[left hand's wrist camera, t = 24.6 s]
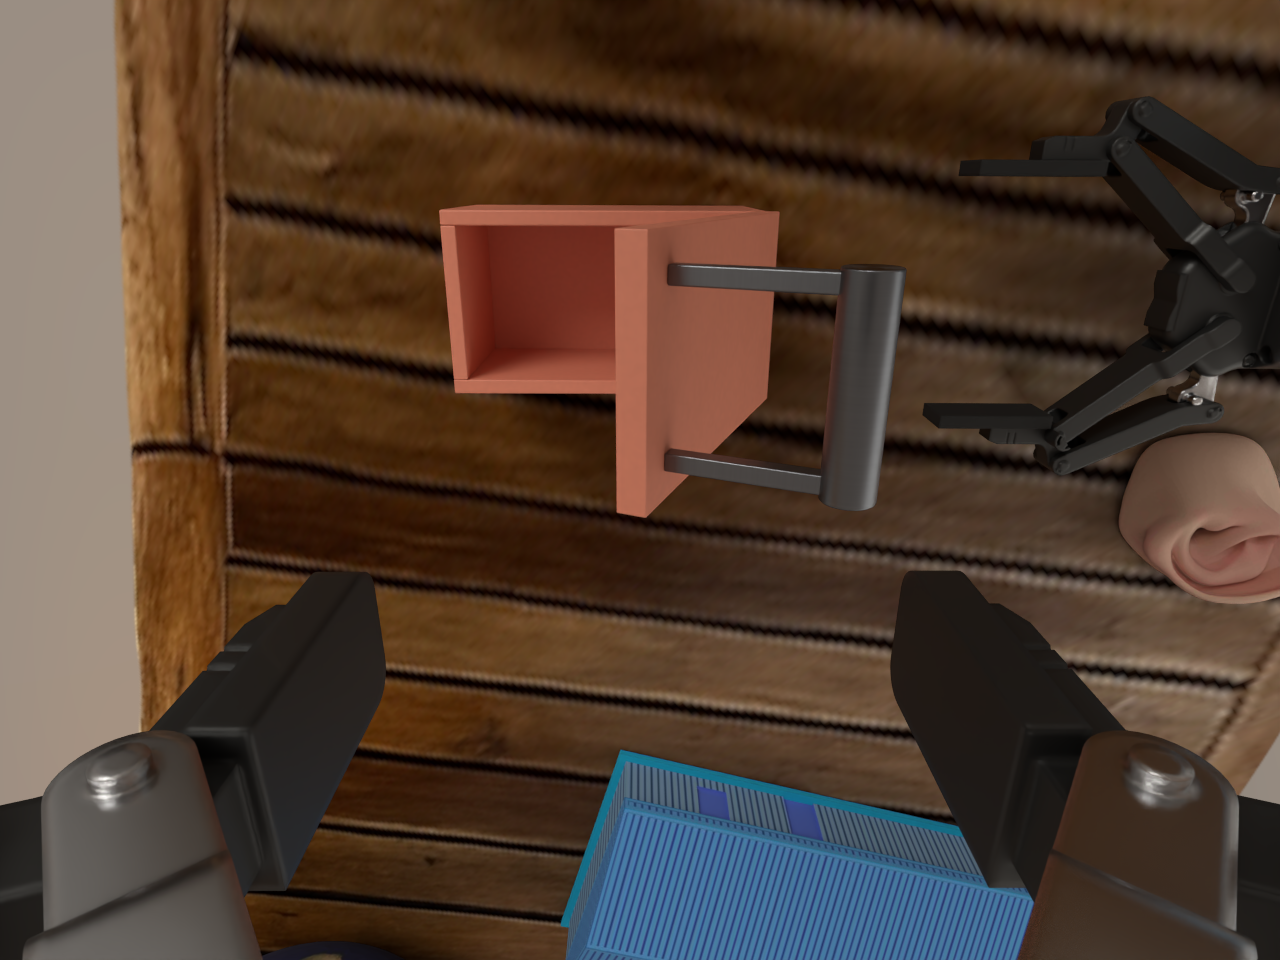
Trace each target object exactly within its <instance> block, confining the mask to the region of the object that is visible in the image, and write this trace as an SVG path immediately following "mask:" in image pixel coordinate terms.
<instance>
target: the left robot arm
mask: <svg viewBox="0 0 1280 960" xmlns="http://www.w3.org/2000/svg"><path fill="white" fill-rule="evenodd" d="M224 648H225V649H224V652H219V654H218V655H217V656H216V657H215V658H214V659H213V660H212V661H211V662H210V664H209V665H208V666H207V667H208V668H207V671H202V673H201V674H200V675H199V676H198V677H197V678H196V679H195V680H194V681H193V683H192V684H191V685H190V686H189V687H188V688H187V689H186V690H185V692H184V693H183V694H182V695H181V696H180V697H179V698H178V699H177V700H176V702H175V703H174V704H173V705H172V706H171V707H170V708H169V709H168V710H167V712H166V713H165V714H164V715H163V716H162V717H161V718H160V719H159V721H158V722H157V723H156V724H155V725H154V726H153V727H152V728H151V729H150V731H147V732H140V733H136V734H132V735H128V736H124V737H121V738H118V739H115V740H113V741H110V742H108V743H105V744H103V745H101V746H99V747H97V748H95V749H92V750H91V751H89V752H87V753H85V754H84V755H82V756H80V757H79V758H77V759H76V760H75V761H73V762H72V763H70V764H69V765H68V766H67V767H65V768H64V769H63V770H62V771H61V772H60V773H59V774H58V775H57V776H56V777H55V778H54V779H53V780H52V781H51V783H50V784H49V786H48V787H47V788H46V790H45V792H44V795H43V796H41V797H37V798H33V799H28V800H23V801H19V802H14V803H10V804H5V805H1V806H0V960H263V959H262V956H261V952H260V949H259V946H258V942H257V939H256V936H255V933H254V929H253V926H252V923H251V919H250V916H249V913H248V909H247V906H246V903H245V900H244V897H245V895H246V893H247V892H248V891H286V889H287V887H288V885H289V883H290V881H291V879H292V877H293V875H294V873H295V871H296V869H297V867H298V865H299V863H300V861H301V859H302V857H303V855H304V853H305V851H306V849H307V847H308V845H309V843H310V841H311V839H312V837H313V835H314V833H315V831H316V829H317V827H318V825H319V823H320V821H321V819H322V817H323V815H324V813H325V811H326V809H327V807H328V805H329V803H330V801H331V799H332V797H333V795H334V793H335V791H336V789H337V787H338V785H339V783H340V781H341V779H342V777H343V775H344V773H345V771H346V769H347V767H348V765H349V763H350V761H351V759H352V757H353V755H354V753H355V751H356V749H357V747H358V745H359V743H360V741H361V739H362V737H363V735H364V733H365V731H366V729H367V727H368V725H369V723H370V721H371V719H372V717H373V715H374V713H375V711H376V709H377V707H378V705H379V703H380V701H381V698H382V694H383V690H384V685H385V675H386V662H385V654H384V648H383V641H382V634H381V627H380V621H379V614H378V607H377V600H376V594H375V588H374V583H373V580H372V578H371V576H370V575H369V574H368V573H367V572H315V573H313V574H312V575H311V576H310V577H309V578H308V579H307V581H306V582H305V583H304V584H303V585H302V587H301V588H300V589H299V590H298V591H297V593H296V594H295V595H294V596H293V597H292V599H291V600H290V601H289V602H288V603H287V604H286V605H275V606H274V607H272V608H270V609H269V610H267V611H266V612H264V613H262V614H261V615H259V616H257V617H256V618H254V619H253V620H251V621H249V622H248V623H246V624H245V625H244V626H243V627H242V628H241V629H240V630H239V631H238V632H237V633H236V635H235V636H234V637H233V638H232V639H231V640H230V641H229V642H228V644H227V645H226V646H225V647H224ZM890 670H891V682H892V688H893V692H894V696H895V699H896V701H897V704H898V706H899V708H900V710H901V712H902V714H903V716H904V718H905V720H906V722H907V724H908V726H909V728H910V730H911V732H912V734H913V736H914V738H915V740H916V742H917V744H918V746H919V748H920V750H921V752H922V754H923V756H924V758H925V760H926V762H927V764H928V766H929V768H930V770H931V772H932V774H933V776H934V778H935V780H936V782H937V784H938V786H939V788H940V790H941V792H942V794H943V797H944V799H945V801H946V803H947V805H948V807H949V809H950V811H951V813H952V815H953V817H954V819H955V821H956V823H957V825H958V827H959V829H960V831H961V833H962V835H963V837H964V839H965V841H966V843H967V845H968V847H969V849H970V851H971V853H972V855H973V857H974V859H975V861H976V863H977V865H978V867H979V869H980V871H981V873H982V875H983V877H984V879H985V881H986V883H987V885H988V887H989V888H1026V889H1027V891H1028V893H1029V895H1030V896H1031V898H1032V900H1033V902H1034V906H1033V909H1032V913H1031V916H1030V919H1029V923H1028V926H1027V929H1026V933H1025V936H1024V939H1023V942H1022V946H1021V949H1020V952H1019V956H1018V959H1017V960H1280V804H1276V803H1271V802H1267V801H1262V800H1257V799H1253V798H1248V797H1244V796H1239V795H1236V792H1235V790H1234V788H1233V787H1232V786H1231V784H1230V783H1229V781H1228V780H1227V779H1226V778H1225V777H1224V776H1223V775H1222V774H1221V773H1220V772H1219V771H1218V770H1217V769H1216V768H1215V767H1213V766H1212V765H1211V764H1210V763H1208V762H1207V761H1205V760H1204V759H1203V758H1201V757H1200V756H1198V755H1196V754H1195V753H1193V752H1191V751H1189V750H1188V749H1185V748H1183V747H1181V746H1179V745H1177V744H1175V743H1172V742H1170V741H1167V740H1165V739H1162V738H1159V737H1156V736H1152V735H1149V734H1144V733H1140V732H1133V731H1126V730H1125V729H1124V728H1123V727H1122V725H1121V724H1120V723H1119V722H1118V721H1117V720H1116V719H1115V718H1114V716H1113V715H1112V714H1111V713H1110V712H1109V711H1108V710H1107V709H1106V707H1105V706H1104V705H1103V704H1102V703H1101V702H1100V701H1099V700H1098V698H1097V697H1096V696H1095V695H1094V694H1093V693H1092V692H1091V690H1090V689H1089V688H1088V687H1087V686H1086V685H1085V684H1084V683H1083V681H1082V680H1081V679H1080V678H1079V677H1078V676H1077V675H1076V674H1075V672H1074V671H1073V670H1072V669H1068V668H1067V663H1066V662H1065V661H1064V660H1063V659H1062V658H1061V657H1060V656H1059V654H1058V653H1057V652H1056V651H1055V650H1051V648H1050V644H1049V643H1048V642H1047V641H1046V640H1045V639H1044V638H1043V636H1042V635H1041V634H1040V633H1039V632H1038V631H1037V630H1036V629H1035V627H1034V626H1033V625H1032V624H1031V623H1030V622H1028V621H1027V620H1025V619H1023V618H1022V617H1020V616H1019V615H1017V614H1015V613H1014V612H1012V611H1010V610H1009V609H1007V608H1006V607H1004V606H1002V605H1001V604H989V603H988V602H987V600H986V599H985V598H984V597H983V596H982V594H981V593H980V592H979V591H978V590H977V588H976V587H975V586H974V585H973V584H972V582H971V581H970V580H969V579H968V578H967V576H966V575H965V574H964V573H963V572H961V571H908V572H907V573H906V575H905V576H904V579H903V582H902V586H901V593H900V599H899V606H898V613H897V620H896V627H895V634H894V640H893V647H892V654H891V665H890Z"/></svg>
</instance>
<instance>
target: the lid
mask: <svg viewBox="0 0 1280 960" xmlns="http://www.w3.org/2000/svg"><path fill="white" fill-rule="evenodd" d="M778 227H779V212H773V211H756V212H748V213H739V214H731V215H722V216H714V217H705V218H697V219H689V220H680V221H672V222H663V223H655V224H646V225H638V226H630V227H621V228H615V230H614V233H615V350H616V466H617V513H622V514H627V515H633V516H639V517H644V518H645V517H647V516H648V515H649V514H650V513H651V512H652V511H653V510H654V509H655V508H656V507H657V506H658V505H659V504H660V503H661V502H662V501H663V500H664V499H665V498H666V497H667V496H668V495H669V494H670V493H671V492H672V491H673V490H674V489H675V488H676V487H677V486H678V485H679V484H680V483H681V482H682V481H683V480H684V479H685V478H686V477H687V476H689V475H692V476H699V477H705V478H712V479H719V480H725V481H732V482H738V483H745V484H751V485H758V486H764V487H771V488H777V489H784V490H790V491H797V492H803V493H810V494H816V495H818V497H819V500H820V501H821V502H822V503H824V504H825V505H827V506H830V507H833V508H836V509H841V510H849V511H860V510H866V509H870V508H872V507H874V506H875V504H876V501H877V493H878V486H879V478H880V470H881V462H882V455H883V447H884V439H885V432H886V424H887V416H888V409H889V401H890V393H891V386H892V378H893V370H894V363H895V355H896V347H897V339H898V332H899V324H900V316H901V309H902V301H903V293H904V286H905V278H906V268H904V267H901V266H894V265H881V264H850V265H844V266H842V267H841V270H835V269H812V268H790V267H776V256H777V242H778ZM774 292H788V293H806V294H823V295H838V300H837V311H836V321H835V331H834V341H833V351H832V361H831V371H830V381H829V392H828V402H827V412H826V422H825V432H824V442H823V452H822V463H821V469H815V468H808V467H801V466H794V465H786V464H779V463H772V462H765V461H758V460H751V459H744V458H737V457H730V456H723V455H716V454H711V453H712V452H713V451H714V450H715V449H716V448H717V447H718V446H719V445H720V444H721V443H722V442H723V441H724V440H725V439H726V438H727V437H728V436H729V435H730V434H731V433H732V432H733V431H734V430H735V429H736V428H737V427H738V426H739V425H740V424H741V423H742V422H743V421H744V420H745V419H746V418H747V417H748V416H749V415H750V414H751V413H752V412H753V411H754V410H755V409H756V408H757V407H759V406H760V405H761V404H762V403H763V402H764V401H765V400H766V399H767V389H768V374H769V360H770V345H771V330H772V315H773V301H774Z"/></svg>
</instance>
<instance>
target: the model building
mask: <svg viewBox="0 0 1280 960" xmlns="http://www.w3.org/2000/svg"><path fill="white" fill-rule="evenodd" d="M1033 906H1034V902H1033V900H1032V898H1031V896H1030V895H1029V893H1028V891H1027V889H1026V888H989V887H988V885H987V883H986V881H985V879H984V877H983V875H982V873H981V871H980V869H979V867H978V865H977V863H976V861H975V859H974V857H973V855H972V853H971V851H970V849H969V847H968V845H967V843H966V841H965V839H964V837H963V835H962V833H961V831H960V829H959V827H958V826H955V825H950V824H946V823H941V822H937V821H933V820H928V819H924V818H919V817H915V816H911V815H906V814H902V813H897V812H893V811H889V810H884V809H880V808H875V807H871V806H867V805H862V804H858V803H853V802H849V801H845V800H840V799H836V798H831V797H827V796H823V795H818V794H814V793H809V792H805V791H801V790H796V789H792V788H787V787H783V786H779V785H774V784H770V783H765V782H761V781H757V780H752V779H748V778H743V777H739V776H734V775H730V774H726V773H721V772H717V771H712V770H708V769H704V768H699V767H695V766H690V765H686V764H682V763H677V762H673V761H668V760H664V759H660V758H655V757H651V756H646V755H642V754H638V753H633V752H629V751H624V750H620V753H619V756H618V759H617V762H616V765H615V768H614V770H613V773H612V776H611V779H610V782H609V785H608V788H607V791H606V794H605V796H604V799H603V802H602V805H601V808H600V811H599V814H598V817H597V820H596V822H595V825H594V828H593V831H592V834H591V837H590V840H589V843H588V846H587V848H586V851H585V854H584V857H583V860H582V863H581V866H580V869H579V871H578V874H577V877H576V880H575V883H574V886H573V889H572V892H571V895H570V897H569V900H568V903H567V906H566V909H565V912H564V915H563V918H562V921H561V926H563V927H568V928H569V932H568V943H567V953H566V960H1017V959H1018V956H1019V952H1020V949H1021V946H1022V942H1023V939H1024V936H1025V933H1026V929H1027V926H1028V923H1029V919H1030V916H1031V913H1032V909H1033Z"/></svg>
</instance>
